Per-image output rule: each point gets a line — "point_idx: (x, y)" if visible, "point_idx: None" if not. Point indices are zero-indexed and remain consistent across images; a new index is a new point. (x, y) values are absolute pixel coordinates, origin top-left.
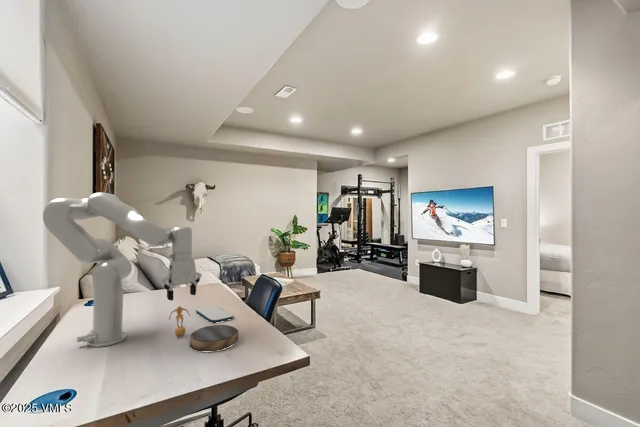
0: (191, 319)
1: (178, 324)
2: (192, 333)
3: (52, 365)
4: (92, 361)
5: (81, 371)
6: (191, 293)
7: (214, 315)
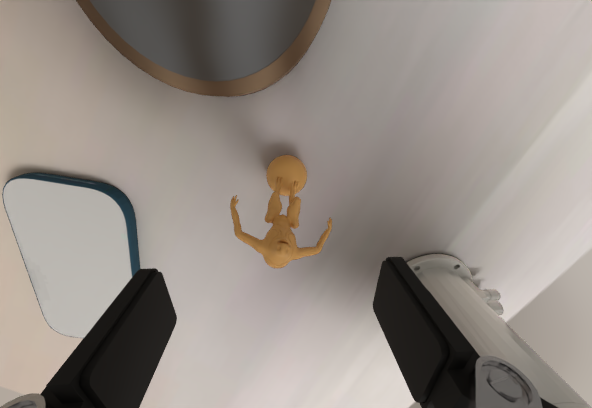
0: (182, 282)
1: (290, 195)
2: (288, 60)
3: (569, 233)
4: (531, 187)
5: (589, 144)
6: (167, 312)
7: (91, 244)
